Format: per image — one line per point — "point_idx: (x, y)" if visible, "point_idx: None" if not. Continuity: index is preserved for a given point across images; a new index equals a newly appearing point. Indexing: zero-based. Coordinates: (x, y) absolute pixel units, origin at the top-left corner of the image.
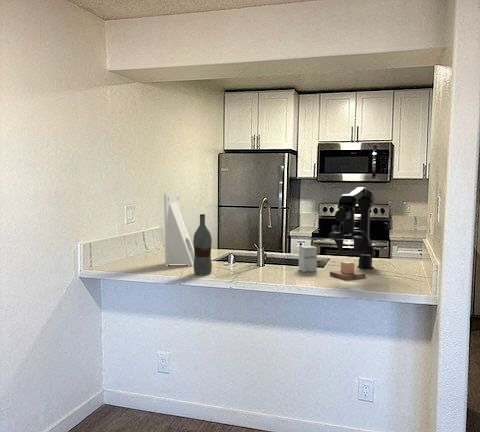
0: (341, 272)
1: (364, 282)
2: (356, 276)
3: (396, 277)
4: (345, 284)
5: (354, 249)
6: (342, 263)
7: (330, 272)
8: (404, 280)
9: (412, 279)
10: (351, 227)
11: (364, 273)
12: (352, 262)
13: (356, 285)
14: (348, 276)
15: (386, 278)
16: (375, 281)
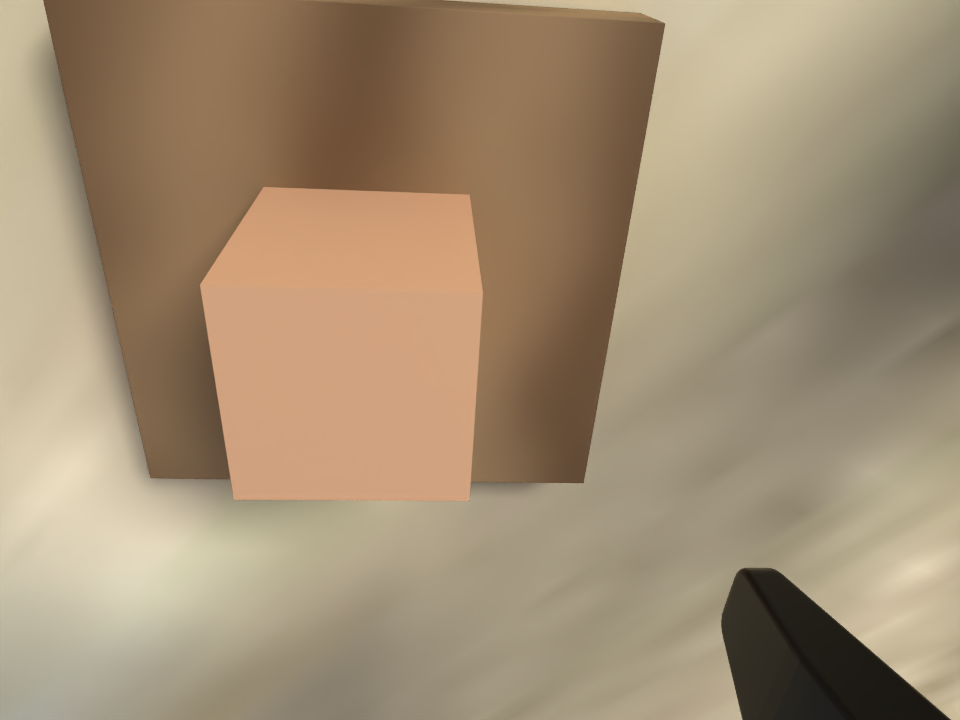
0: None
1: (333, 610)
2: None
3: (920, 578)
4: (21, 598)
5: (770, 649)
6: (218, 329)
7: (54, 8)
8: None
9: (932, 692)
10: None
11: (579, 468)
12: (454, 461)
13: (134, 669)
14: (212, 470)
15: None
16: (499, 622)
